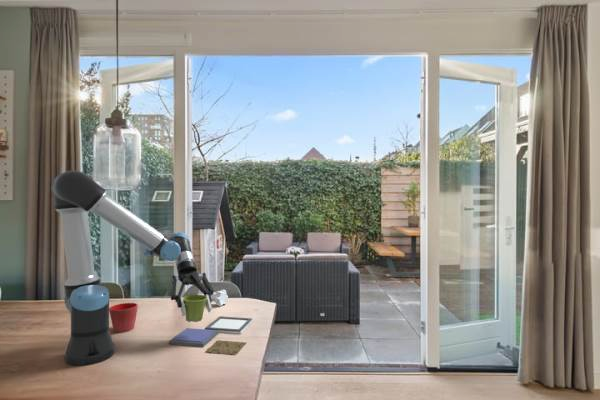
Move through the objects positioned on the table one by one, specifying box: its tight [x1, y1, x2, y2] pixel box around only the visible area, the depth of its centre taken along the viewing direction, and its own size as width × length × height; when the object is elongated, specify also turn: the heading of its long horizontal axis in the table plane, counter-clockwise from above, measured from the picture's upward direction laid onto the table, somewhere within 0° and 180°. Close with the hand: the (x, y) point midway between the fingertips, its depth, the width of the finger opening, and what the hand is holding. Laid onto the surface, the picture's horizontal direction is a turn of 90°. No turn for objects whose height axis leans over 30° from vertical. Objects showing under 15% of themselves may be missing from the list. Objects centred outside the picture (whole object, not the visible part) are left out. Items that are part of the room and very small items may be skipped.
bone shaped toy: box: [196, 289, 229, 307], centre depth 194 cm, size 15×9×8 cm, turn 62°
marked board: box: [204, 316, 254, 335], centre depth 161 cm, size 16×16×1 cm
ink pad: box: [168, 327, 220, 348], centre depth 147 cm, size 14×14×2 cm
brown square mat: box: [204, 339, 247, 356], centre depth 138 cm, size 12×12×1 cm
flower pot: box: [109, 302, 139, 333], centre depth 157 cm, size 11×11×10 cm
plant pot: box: [182, 294, 207, 323], centre depth 147 cm, size 9×9×9 cm
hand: (197, 312), depth 144 cm, fingers closed on plant pot, 9 cm apart
